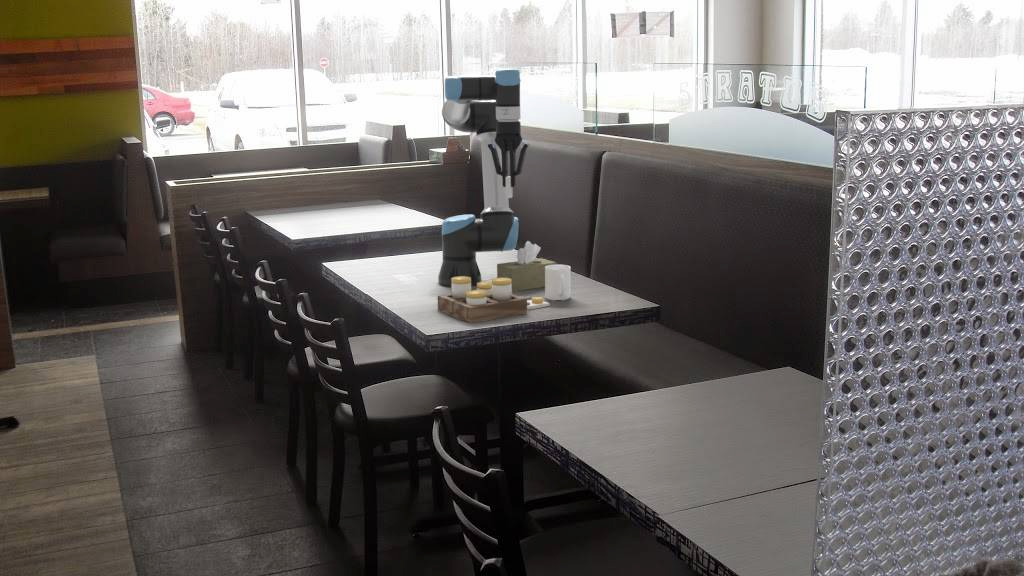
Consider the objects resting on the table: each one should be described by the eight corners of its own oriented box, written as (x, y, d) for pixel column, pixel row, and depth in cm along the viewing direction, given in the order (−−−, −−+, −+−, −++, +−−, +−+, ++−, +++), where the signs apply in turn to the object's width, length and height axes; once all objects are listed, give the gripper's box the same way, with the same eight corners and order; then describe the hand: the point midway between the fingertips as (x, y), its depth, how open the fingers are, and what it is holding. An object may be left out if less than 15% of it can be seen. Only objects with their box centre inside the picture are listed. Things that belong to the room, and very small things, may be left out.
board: (437, 310, 305) (437, 295, 304) (492, 301, 316) (492, 287, 315) (470, 323, 289) (469, 307, 288) (527, 313, 299) (526, 298, 298)
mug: (576, 302, 312) (576, 270, 310) (550, 304, 311) (550, 272, 309) (567, 294, 324) (567, 263, 321) (542, 295, 322) (542, 265, 320)
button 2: (463, 311, 297) (462, 291, 295) (480, 308, 300) (479, 289, 298) (473, 315, 292) (472, 295, 290) (490, 312, 295) (490, 292, 293)
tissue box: (510, 292, 329) (510, 245, 326) (496, 286, 338) (495, 241, 334) (557, 285, 339) (557, 240, 335) (542, 280, 347) (542, 236, 344)
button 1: (448, 296, 303) (447, 277, 302) (465, 294, 307) (464, 275, 305) (458, 300, 298) (457, 281, 297) (475, 297, 302) (474, 278, 300)
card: (502, 303, 313) (501, 296, 312) (528, 299, 318) (528, 292, 317) (522, 310, 303) (522, 303, 302) (549, 306, 308) (549, 299, 308)
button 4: (488, 298, 301) (488, 279, 299) (505, 295, 304) (504, 276, 303) (498, 302, 296) (498, 282, 294) (515, 299, 299) (515, 280, 298)
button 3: (473, 301, 309) (473, 283, 307) (490, 299, 312) (489, 280, 311) (483, 305, 304) (483, 286, 302) (500, 302, 307) (499, 284, 306)
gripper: (484, 121, 298) (485, 198, 303) (526, 121, 295) (526, 199, 300) (490, 119, 305) (492, 195, 311) (531, 119, 302) (532, 196, 307)
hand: (509, 197), depth 305 cm, fingers closed
